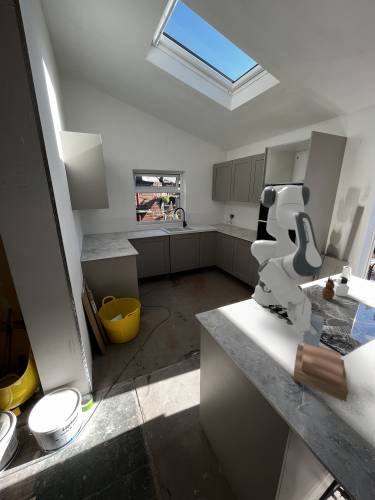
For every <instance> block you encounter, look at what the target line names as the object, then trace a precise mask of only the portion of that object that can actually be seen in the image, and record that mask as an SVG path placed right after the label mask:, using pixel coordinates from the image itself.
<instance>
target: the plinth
mask: <svg viewBox="0 0 375 500" xmlns="http://www.w3.org/2000/svg"><path fill="white" fill-rule="evenodd" d="M293 368H294V369H293V376H292V380H295V381H296V382H298V383H301V384H303V385H306V386H308V387H310V388H312V389H315V390H316V391H319V392H322V393H325V394H327V395H329V396H331V397H334V398H335V399H338V400H339V401H343V402H347V398H348V396H349V389H348V388H349V387H348V381H347V374H346V367H345V360H344V359H342V356H341V352H338V351H336V350H333V349H329V348H327V347H324V346H321V345H319V346H318V347H315V346H312V345H309V344H306V343H303V345H302V344H299V343H297V348H296V353H295V361H294V367H293Z"/></svg>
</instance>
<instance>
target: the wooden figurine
mask: <svg viewBox="0 0 375 500" xmlns="http://www.w3.org/2000/svg"><path fill="white" fill-rule="evenodd" d="M332 278H333V277H330V276H328V278H327V282H326V283H325V286H324V287H323V289H321V290H322V291H321V294H322V297H323V298H324V299H325V300H327V301H328V300H331V301H332V299H333V298H334V297H335V295H334V294H335V292H334V290H333V288H334V282H335V281H333V279H332Z"/></svg>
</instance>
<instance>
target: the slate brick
mask: <svg viewBox="0 0 375 500" xmlns="http://www.w3.org/2000/svg"><path fill="white" fill-rule="evenodd" d="M324 320H325V319H324V316H322V315H318V314H314V313H312V314H311V319H310V324H311V326H312V327H315V329H316V330H317V334H314V335H313V334H311V332H310V331H309V330H308V331H306V332H303V334H302V343H303V344H304V343H306V344H309V345H312V346H315V347H318V346H320V342H321V341H320V340H321V336H322V333H323V329H324V325H325V323H324V322H325V321H324Z"/></svg>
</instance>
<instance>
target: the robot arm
mask: <svg viewBox="0 0 375 500" xmlns="http://www.w3.org/2000/svg"><path fill="white" fill-rule="evenodd" d="M260 195H261V196H260V200H261V201H260V202H261V204H262V205H263V206H264V207H266V208H269V209H268V213H267V221H266V232H267V233H268V235H270V236H272V237H273V238H274V239H276V240H267V239H266V240H265V239H259V240H255V241H253V242H252V244H251V246H250V252H251V255H252V256H254V258H256V260H257V261H258V263H259V266H258V269H257V274H258V275H259V279H258V284H257V285H256V286H255V289H254V293H252V295H251V298H252V299H253V300H254V301H255V302H256V303H257V304H259V305H260V306H261V305H262V306H265V307H269V305H281V306H282V307H283V308H284V309H286V310H287V316H288V319H289V321H290V322H291V323H292V324H293V326H294V328H295V329H296V330H297V331H298V332H299V333H300V334H302V333H304V332H306V331H308V330H309V331H310V332H311V334H313V335H314V334H317V330H316V329H315V327H312V326H311V324H310V319H311V314H313V312H312V302H311V300H310V298H309V297H308V296H307V295H306V293H305V292H304V291H303V287H302V286H301V285H300V284H296V283H295V281H296V279H301V278H308V277H315V276H317V275H319V274H320V273H321V271H322V269H323V267H324V260H323V257H322V254H321V252H320V251H319V247H318V243H317V239H316V235H315V231H314V226H313V222H312V219H311V217H310V216H309V214H308V213H306V211H305V207H306V205H308V204H309V202H310V198H311V190H310V188H309V186H306V185H301V184H300V185H297V184H296V185H293V184H285V185H284V184H283V185H282V184H281V185H275V186H273V185H269V186H265V188H264V189H263V190H262V193H261V194H260ZM289 230H291V231H295V235H296V236H295V237H296V243H297V245H296V244H295V243H294V242H293V241H292V240H291V238H290V235H289Z"/></svg>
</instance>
